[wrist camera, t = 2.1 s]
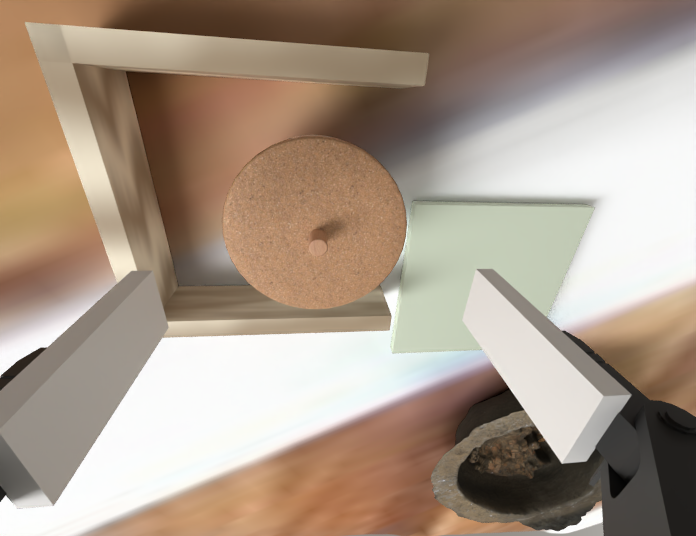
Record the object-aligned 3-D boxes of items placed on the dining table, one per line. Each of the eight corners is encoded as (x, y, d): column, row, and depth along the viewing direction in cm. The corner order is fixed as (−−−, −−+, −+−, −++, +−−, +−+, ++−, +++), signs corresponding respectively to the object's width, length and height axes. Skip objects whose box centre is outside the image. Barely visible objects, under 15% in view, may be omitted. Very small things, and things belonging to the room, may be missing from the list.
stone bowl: (613, 427, 46) (673, 501, 38) (456, 480, 52) (478, 552, 44) (583, 324, 34) (660, 398, 26) (385, 407, 40) (399, 488, 32)
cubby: (91, 40, 19) (24, 22, 14) (404, 63, 21) (429, 53, 17) (164, 300, 28) (137, 338, 23) (377, 296, 30) (389, 330, 26)
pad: (412, 200, 26) (415, 204, 25) (585, 204, 28) (594, 207, 27) (390, 346, 33) (392, 353, 32) (527, 341, 35) (533, 347, 34)
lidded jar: (378, 117, 22) (416, 127, 14) (384, 249, 28) (415, 313, 19) (229, 134, 22) (181, 155, 14) (264, 266, 27) (244, 338, 19)
